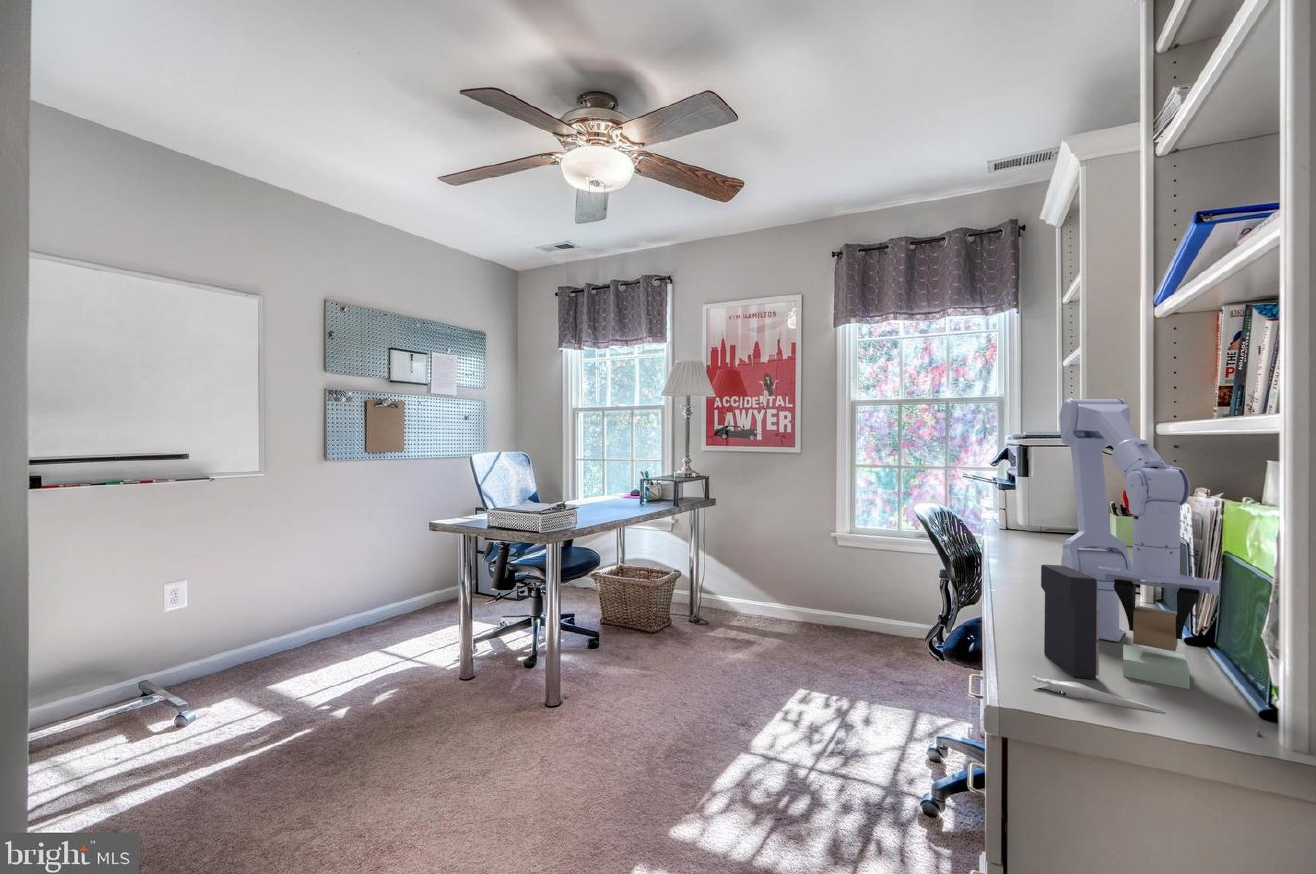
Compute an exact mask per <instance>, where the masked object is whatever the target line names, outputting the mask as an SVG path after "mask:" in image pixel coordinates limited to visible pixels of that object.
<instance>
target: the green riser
mask: <svg viewBox="0 0 1316 874" xmlns="http://www.w3.org/2000/svg"><path fill="white" fill-rule="evenodd" d="M1122 646H1123V647H1122V662H1123V663H1122V671H1123V672H1122V677H1125V678H1129V679H1130V678H1131V679H1136V680H1140V681H1144V682H1145V681H1146V682H1151V683H1156V684H1162V685H1166V686H1171V687H1177V688H1181V689H1182V688H1183V689H1186V690H1187V689H1188V690H1190V686H1191V685H1190V679H1191V678H1190V674H1191V673H1190V668H1189V665H1188V661H1187V658H1186V656H1185V654H1183V653H1177V652H1172V651H1165V650H1159V649H1153V648H1147V647H1141V646H1134V645H1129V644H1123V645H1122Z"/></svg>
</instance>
